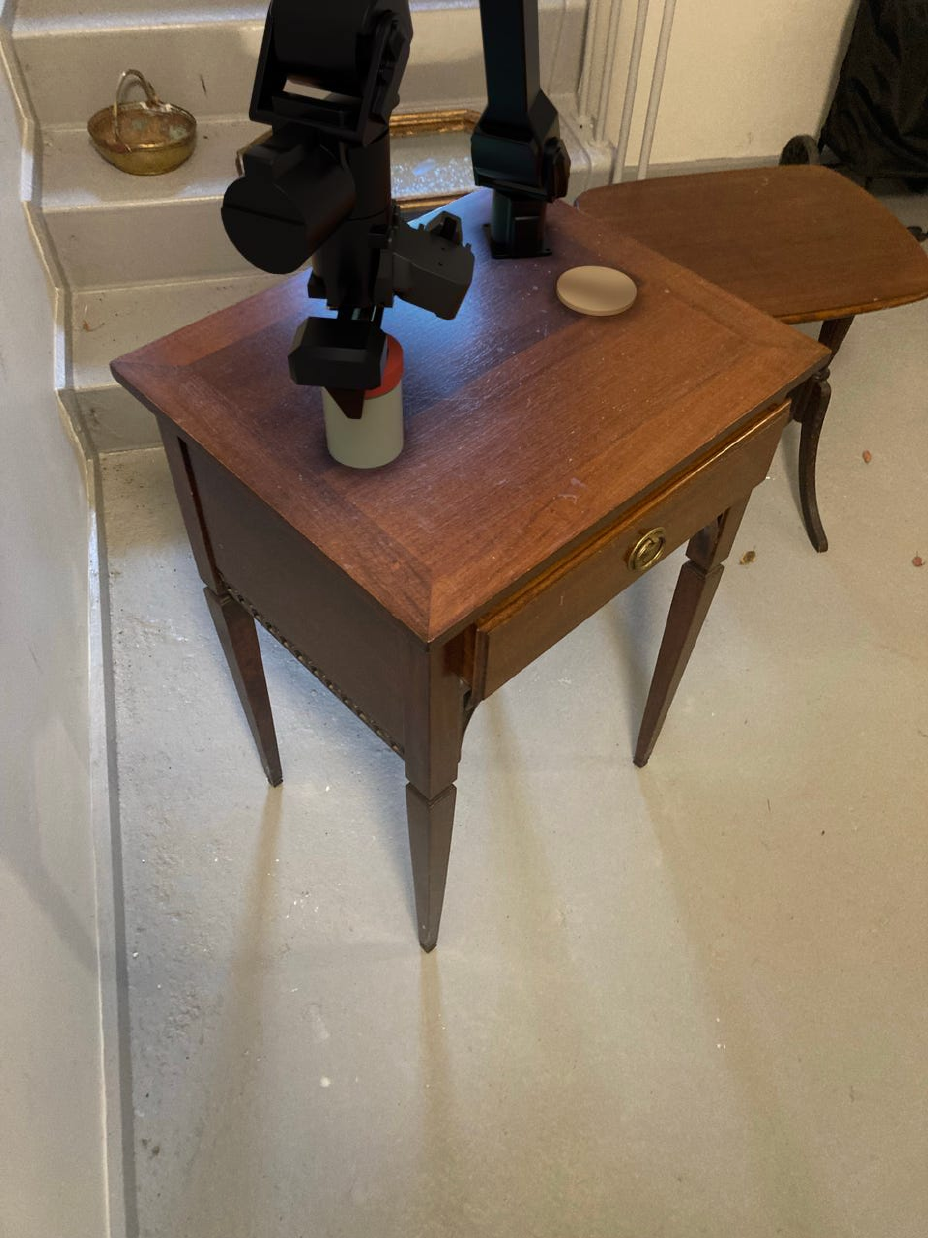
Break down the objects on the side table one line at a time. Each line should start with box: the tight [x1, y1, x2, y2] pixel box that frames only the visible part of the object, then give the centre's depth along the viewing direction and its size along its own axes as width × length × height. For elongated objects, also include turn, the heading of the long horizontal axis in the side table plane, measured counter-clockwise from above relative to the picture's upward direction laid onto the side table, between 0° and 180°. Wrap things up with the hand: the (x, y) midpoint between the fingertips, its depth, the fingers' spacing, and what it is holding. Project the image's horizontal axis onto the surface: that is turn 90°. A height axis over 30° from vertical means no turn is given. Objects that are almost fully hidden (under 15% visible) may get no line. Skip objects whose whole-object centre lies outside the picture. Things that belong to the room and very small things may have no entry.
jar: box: [320, 378, 405, 470], centre depth 75 cm, size 6×6×8 cm
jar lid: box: [365, 331, 405, 398], centre depth 72 cm, size 7×7×2 cm
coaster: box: [555, 265, 638, 317], centre depth 93 cm, size 8×8×1 cm
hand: (361, 390), depth 74 cm, fingers closed on jar lid, 6 cm apart
